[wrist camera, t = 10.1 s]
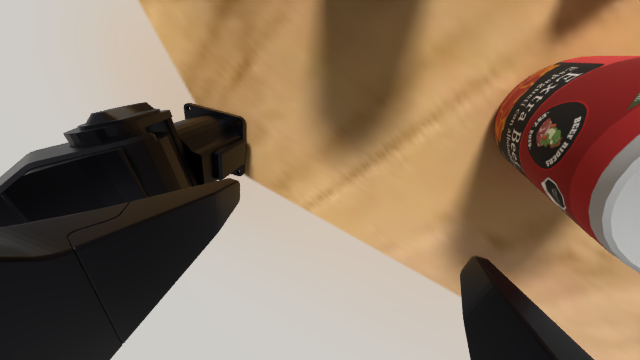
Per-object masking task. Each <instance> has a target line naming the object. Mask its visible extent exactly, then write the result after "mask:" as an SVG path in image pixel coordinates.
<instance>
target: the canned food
mask: <svg viewBox="0 0 640 360" xmlns="http://www.w3.org/2000/svg"><path fill="white" fill-rule="evenodd" d="M495 139H496V142H497V146H498V148H499V150H500V151H501V153H502V155H503V156H504V157H505V158H506V159H507V160H508V161H509V162H510V163H511V164H512V165H513V166H515V167H516V168H517V169H518V170H519V171H520V172H521V173H522V174H523V175H524V176H525V177H526V178H528V179H529V180H530V181H531V182H532V183H533V184H534V185H535V186H536V187H537V188H538V189H540V190H541V191H542V192H543V193H544V194H545V195H546V196H547V197H548V198H549V199H550V200H551V201H553V202H554V203H555V204H556V205H557V206H558V207H559V208H560V209H561V210H562V211H563V212H565V213H566V214H567V215H568V216H569V217H570V218H571V219H572V220H573V221H574V222H575V223H577V224H578V225H579V226H580V227H581V228H582V229H583V230H584V231H585V232H586V233H587V234H588V235H590V236H591V237H592V238H594V239H595V240H596V241H597V242H598V243H599V244H600V245H601V246H603V247H604V248H605V249H606V250H607V251H608V252H609V253H611V254H612V255H614V256H615V257H617V258H618V259H620V260H621V261H622V262H623V263H625V264H626V265H628V266H629V267H631V268H632V269H634V270H636V271H637V272H639V273H640V56H591V57H579V58H574V59H569V60H565V61H562V62H559V63H557V64H554V65H551V66H548V67H546V68H544V69H542V70H540V71H538V72H537V73H535V74H533V75H531V76H529V77H528V78H527V79H525V80H524V81H523V82H521V83H520V84H518V85H517V86H516V87H515V88H514V89H513V90H512V91H511V92H510V93H509V94H508V96H507V97H506V99H505V100H504V101H503V103H502V104H501V107H500V109H499V111H498V113H497V116H496V120H495Z"/></svg>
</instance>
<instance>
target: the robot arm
mask: <svg viewBox="0 0 640 360" xmlns="http://www.w3.org/2000/svg"><path fill="white" fill-rule="evenodd" d="M189 107H190V109H191V110H190V109H189ZM184 113H185V120H182V121H179V122H176V123H173V121H172V119H171V117H172V115H171V112H170V110H163V111H160V109H154V108H153V107H151V106H150V105H148V103H146V102H145V103H138V104H133V105H127V106H122V107H118V108H113V109H108V110H104V111H100V112H96V113H92V114H91V115H90V117H89V119H88V120H87V122H86V123H85V124H82V125H80V126H78V128H76V129H73V130H70V131H68V132H65V133H64V136H65V137H66V139H67V140H68V142H69V143H65V144H61V145H57V146H52V147H48V148H44V149H40V150H36V151H33V152H30V153H29V154H27V155H26V156H25V157H24V158H22V159H21V160H20V161H19V162H17V163H16V164H15V165H14V166H13V167H12V168H10V169H9V170H8V171H7V172H6V173H5V174H3V175H2V176H1V177H0V360H110V359H111V358H112V357H113V355H114V354H115V353H116V352H117V351H118V350H119V348H120V347H121V346H122V344H123V343H124V342H125V341H126V340H127V339H128V337H129V336H130V335H131V334H132V333H133V332H134V330H135V329H136V328H137V327H138V326H139V325H140V323H141V322H142V321H143V320H144V319H145V318H146V316H147V315H148V314H149V313H150V312H151V311H152V309H153V308H154V307H155V306H156V305H157V304H158V302H159V301H160V300H161V299H162V298H163V296H164V295H165V294H166V293H167V292H168V291H169V289H170V288H171V287H172V286H173V285H174V284H175V282H176V281H177V280H178V279H179V278H180V277H181V275H182V274H183V273H184V272H185V271H186V270H187V268H188V267H189V266H190V265H191V264H192V263H193V261H194V260H195V259H196V258H197V256H198V255H199V254H200V253H201V252H202V251H203V250H204V249H205V247H206V246H207V245H208V244H209V242H210V241H211V240H212V239H213V238H214V237H215V236H216V234H217V233H218V232H219V230H220V229H221V228H222V226H223V225H224V223H225V222H226V220H227V218H228V217H229V216H230V214H231V213H232V212H233V210H234V209H235V207H236V205H237V204H238V202H239V200H240V183H239V181H237V180H234V179H231V178H228V179H224V178H225V177H226V176H228V175H229V174H234V175H237V176H242V175H243V174H244V172H245V163H246V140H245V120H244V118H243V117H241V116H237V115H233V114H230V113H226V112H222V111H218V110H215V109H211V108H207V107H204V106H200V105H196V104H192V103H187V104H185V105H184ZM238 120H239V121H240V123H241V124H239V122H238ZM238 170H239V171H240V172H239V171H238ZM222 179H224V180H222ZM217 180H220V181H217ZM460 282H461V296H462V309H463V320H464V326H465V331H466V337H467V342H468V348H469V353H470V358H471V360H594V359H593V358H592V357H591V356H590V355H589V354H588V353H586V352H585V351H584V350H583V349H582V348H581V347H580V346H579V345H578V344H577V343H576V342H575V341H574V340H573V339H572V338H571V337H569V336H568V335H567V334H566V333H565V332H564V331H563V330H562V329H561V328H560V327H559V326H558V325H557V324H556V323H555V322H554V321H552V320H551V319H550V318H549V317H548V316H547V315H546V314H545V313H544V312H543V311H542V310H541V309H540V308H539V307H538V306H537V305H536V304H534V303H533V302H532V301H531V300H530V299H529V298H528V297H527V296H526V295H525V294H524V293H523V292H522V291H521V290H520V289H519V288H517V287H516V286H515V285H514V284H513V283H512V282H511V281H510V280H509V279H508V278H507V277H506V276H505V275H504V274H503V273H502V272H500V271H499V270H498V269H497V268H496V267H495V266H494V265H493V264H492V263H491V262H490V261H489V260H487V259H485V258H482V257H479V256H472V257H471V258H470V260H469V261H468V262H467V264H466V265H465V266H464V268H463V269H462V271H461V274H460Z"/></svg>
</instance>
